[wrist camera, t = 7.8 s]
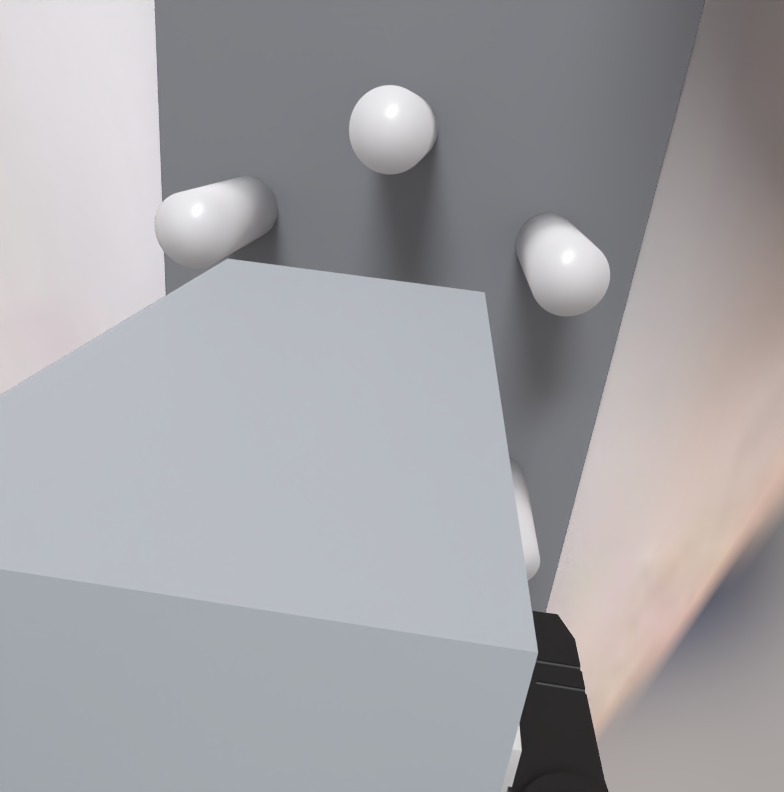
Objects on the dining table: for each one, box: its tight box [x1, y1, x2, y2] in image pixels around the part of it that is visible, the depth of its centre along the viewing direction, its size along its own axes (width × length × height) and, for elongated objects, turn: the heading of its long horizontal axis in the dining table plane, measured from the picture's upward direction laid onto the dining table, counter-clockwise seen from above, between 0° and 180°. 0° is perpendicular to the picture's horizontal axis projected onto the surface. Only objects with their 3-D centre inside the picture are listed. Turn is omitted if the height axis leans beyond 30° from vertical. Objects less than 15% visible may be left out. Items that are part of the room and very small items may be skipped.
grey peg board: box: [155, 0, 705, 613], centre depth 21 cm, size 16×24×6 cm, turn 174°
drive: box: [0, 259, 538, 792], centre depth 10 cm, size 5×10×9 cm, turn 174°
